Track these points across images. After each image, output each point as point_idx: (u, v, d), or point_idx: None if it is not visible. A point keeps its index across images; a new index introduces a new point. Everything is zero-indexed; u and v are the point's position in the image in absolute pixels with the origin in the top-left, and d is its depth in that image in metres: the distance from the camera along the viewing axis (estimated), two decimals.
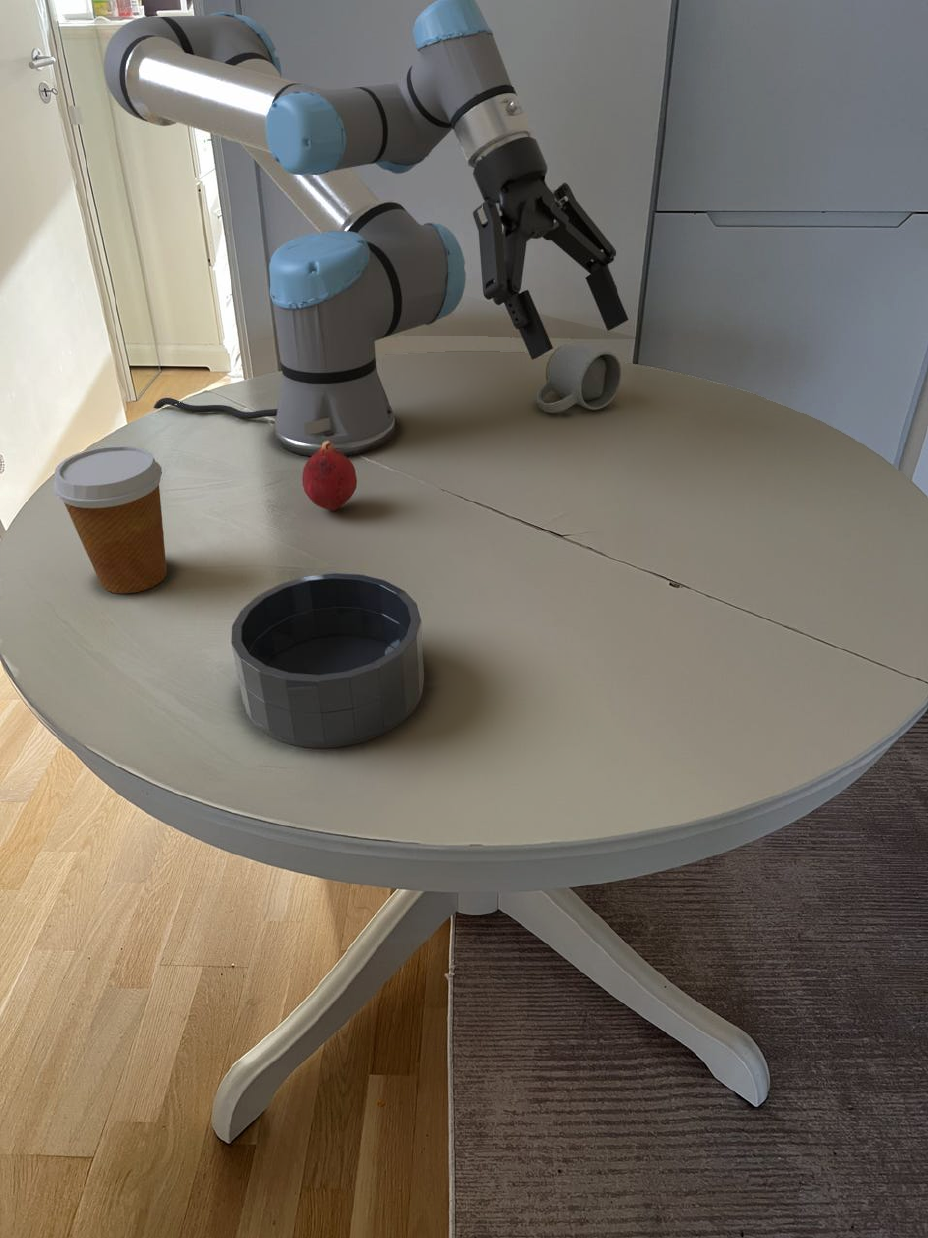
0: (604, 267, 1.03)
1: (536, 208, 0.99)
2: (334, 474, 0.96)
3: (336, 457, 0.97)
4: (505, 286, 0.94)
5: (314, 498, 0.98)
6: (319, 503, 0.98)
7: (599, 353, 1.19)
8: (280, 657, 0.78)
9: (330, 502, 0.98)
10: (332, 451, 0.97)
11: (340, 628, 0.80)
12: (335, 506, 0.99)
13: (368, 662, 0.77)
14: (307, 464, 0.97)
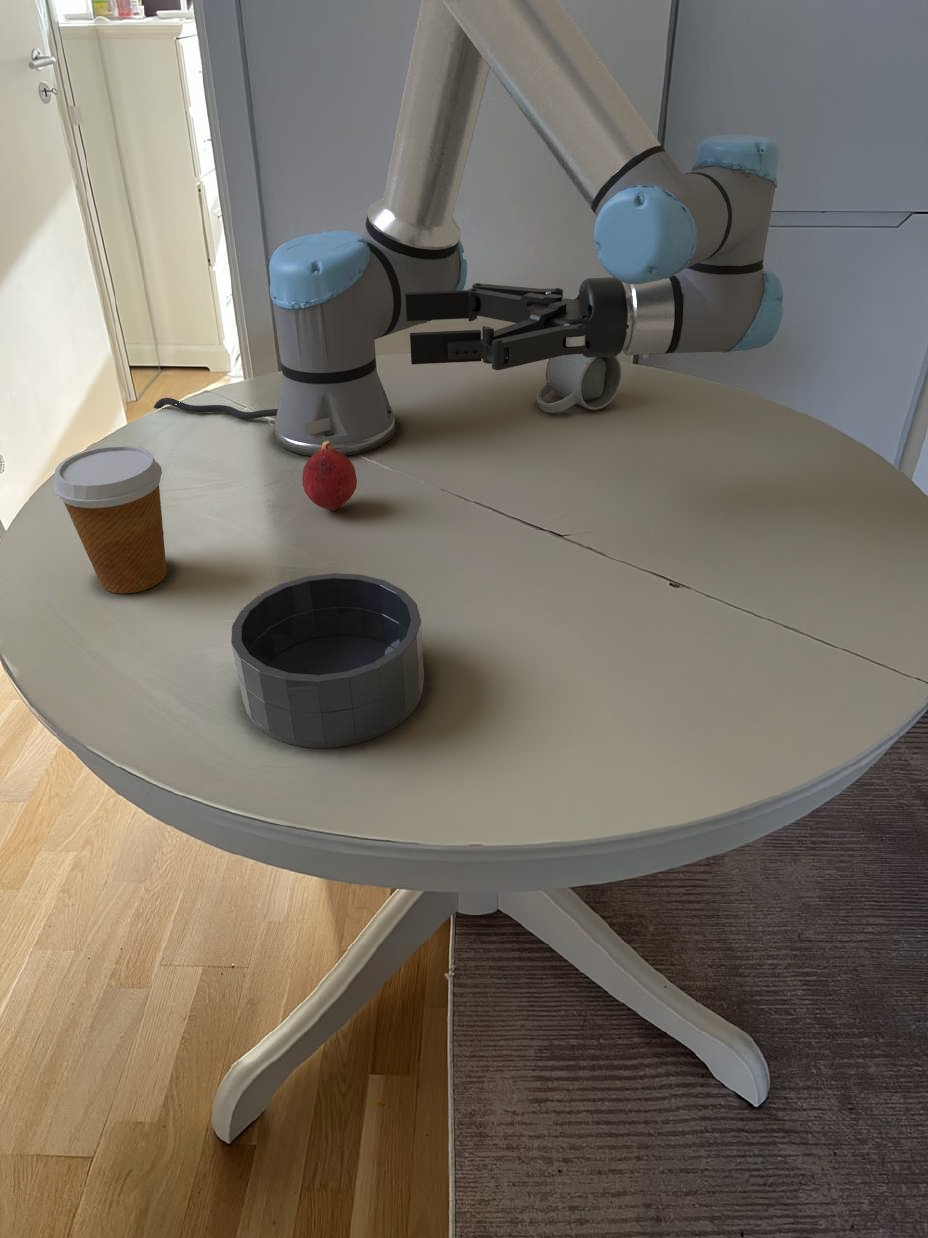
0: None
1: None
2: (334, 474, 0.96)
3: (336, 457, 0.97)
4: None
5: (314, 498, 0.98)
6: (319, 503, 0.98)
7: None
8: (280, 657, 0.78)
9: (330, 502, 0.98)
10: (332, 451, 0.97)
11: (340, 628, 0.80)
12: (335, 506, 0.99)
13: (368, 662, 0.77)
14: (307, 464, 0.97)
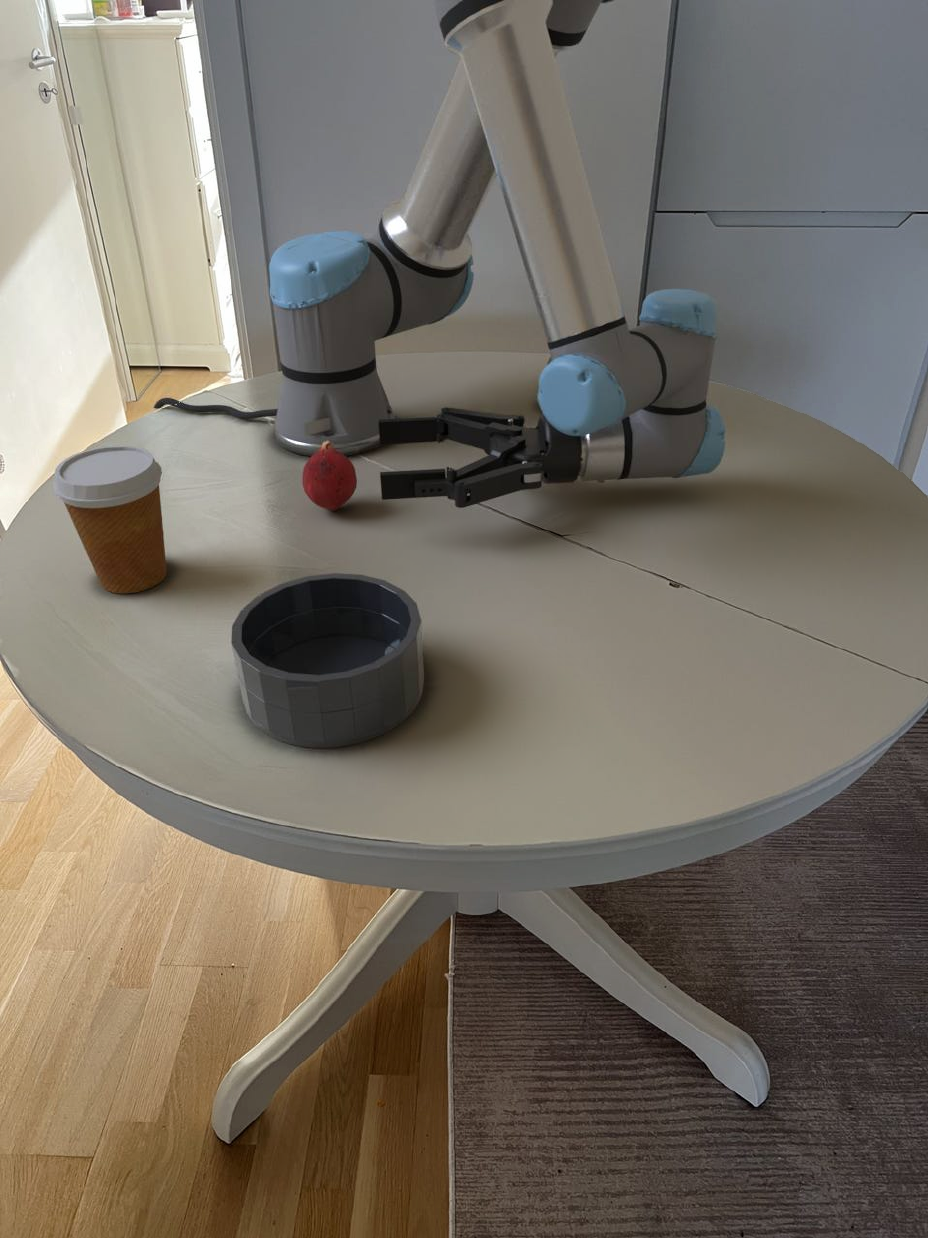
0: None
1: None
2: (334, 474, 0.96)
3: (336, 457, 0.97)
4: None
5: (314, 498, 0.98)
6: (319, 503, 0.98)
7: None
8: (280, 657, 0.78)
9: (330, 502, 0.98)
10: (332, 451, 0.97)
11: (340, 628, 0.80)
12: (335, 506, 0.99)
13: (368, 662, 0.77)
14: (307, 464, 0.97)
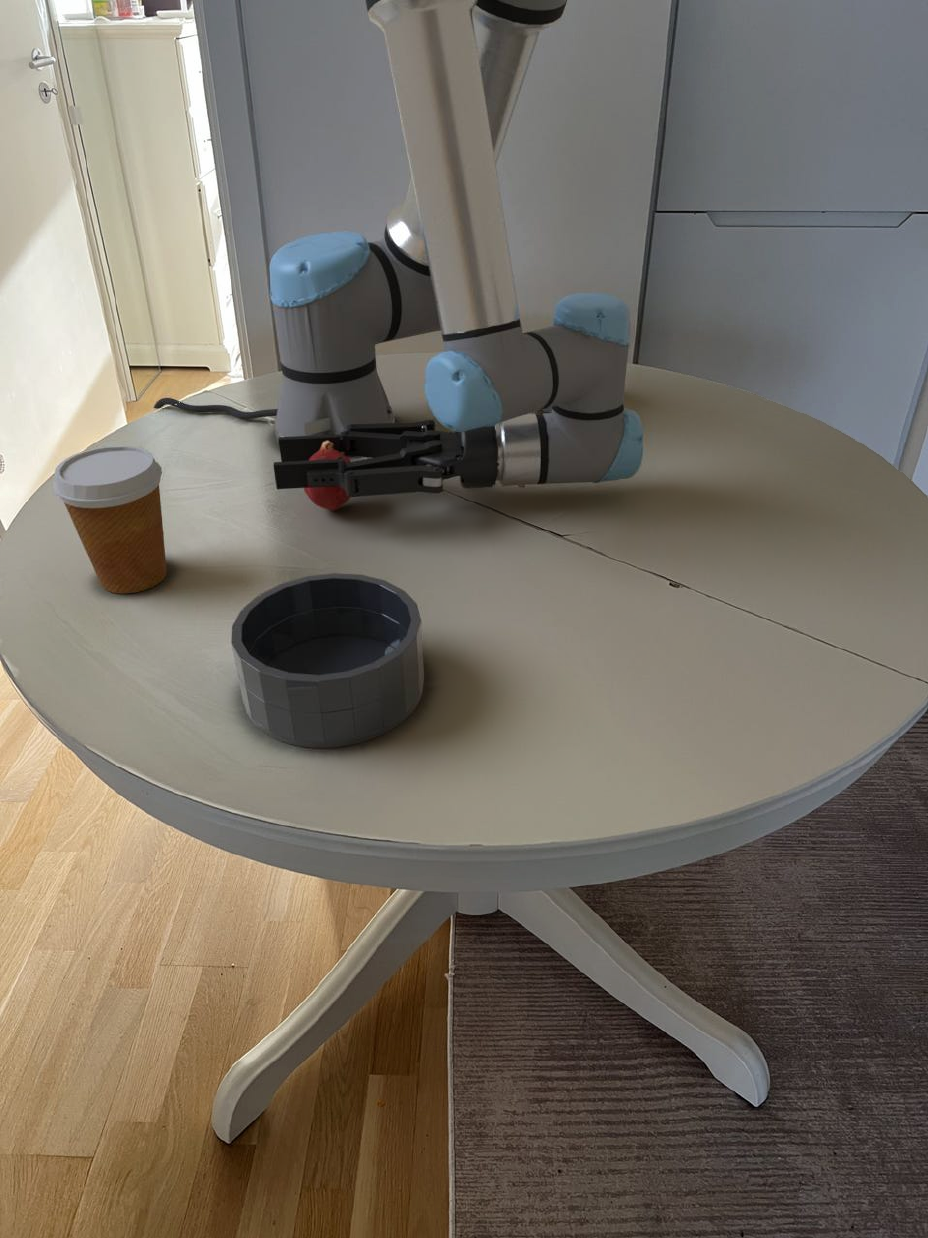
0: None
1: None
2: None
3: (336, 457, 0.97)
4: None
5: (314, 498, 0.98)
6: (319, 503, 0.98)
7: None
8: (280, 657, 0.78)
9: (330, 502, 0.98)
10: (332, 451, 0.97)
11: (340, 628, 0.80)
12: (335, 506, 0.99)
13: (368, 662, 0.77)
14: None
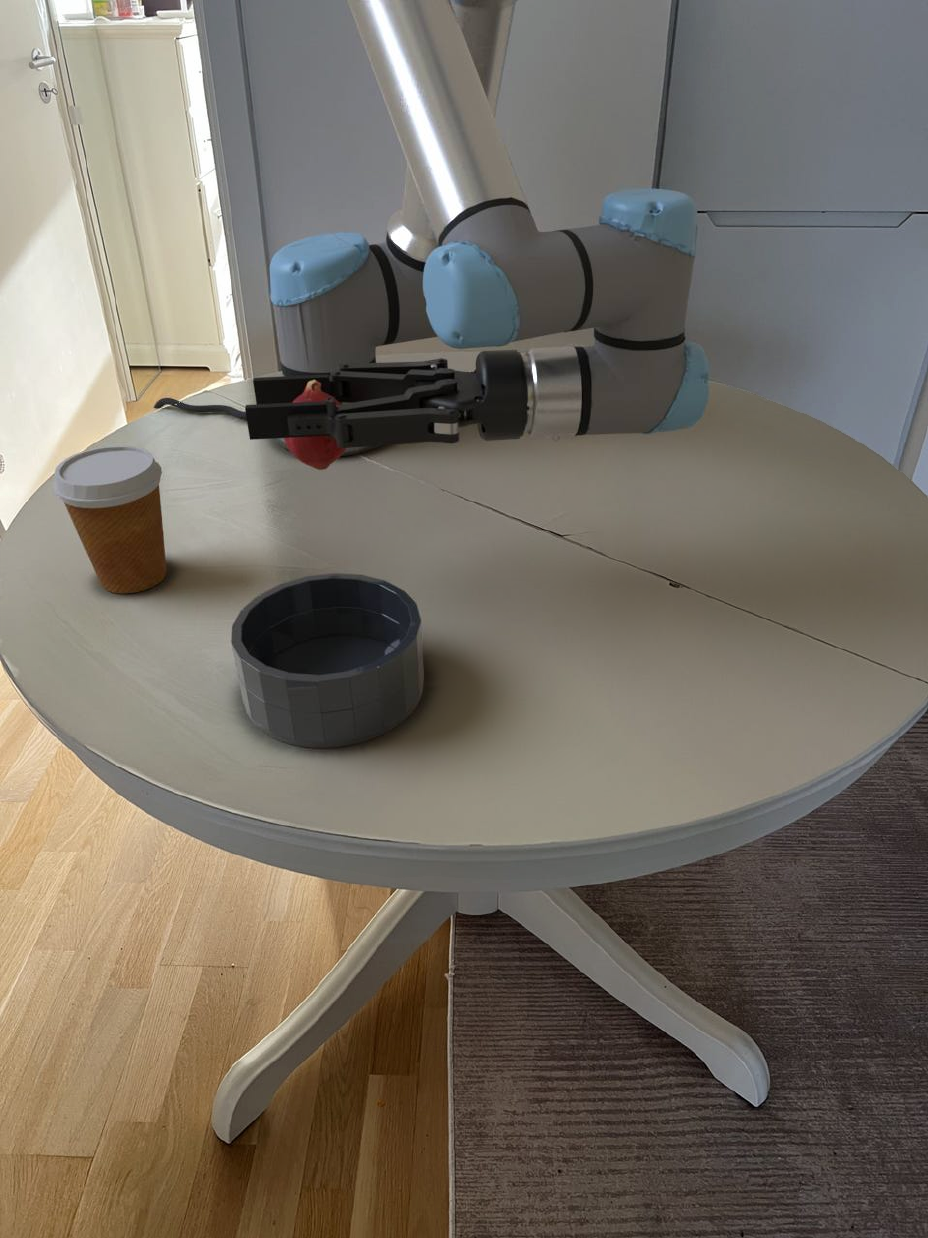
0: None
1: None
2: None
3: (325, 400, 0.77)
4: None
5: (297, 453, 0.78)
6: (304, 459, 0.78)
7: None
8: (280, 657, 0.78)
9: (317, 458, 0.78)
10: (320, 393, 0.77)
11: (340, 628, 0.80)
12: (324, 463, 0.79)
13: (368, 662, 0.77)
14: None
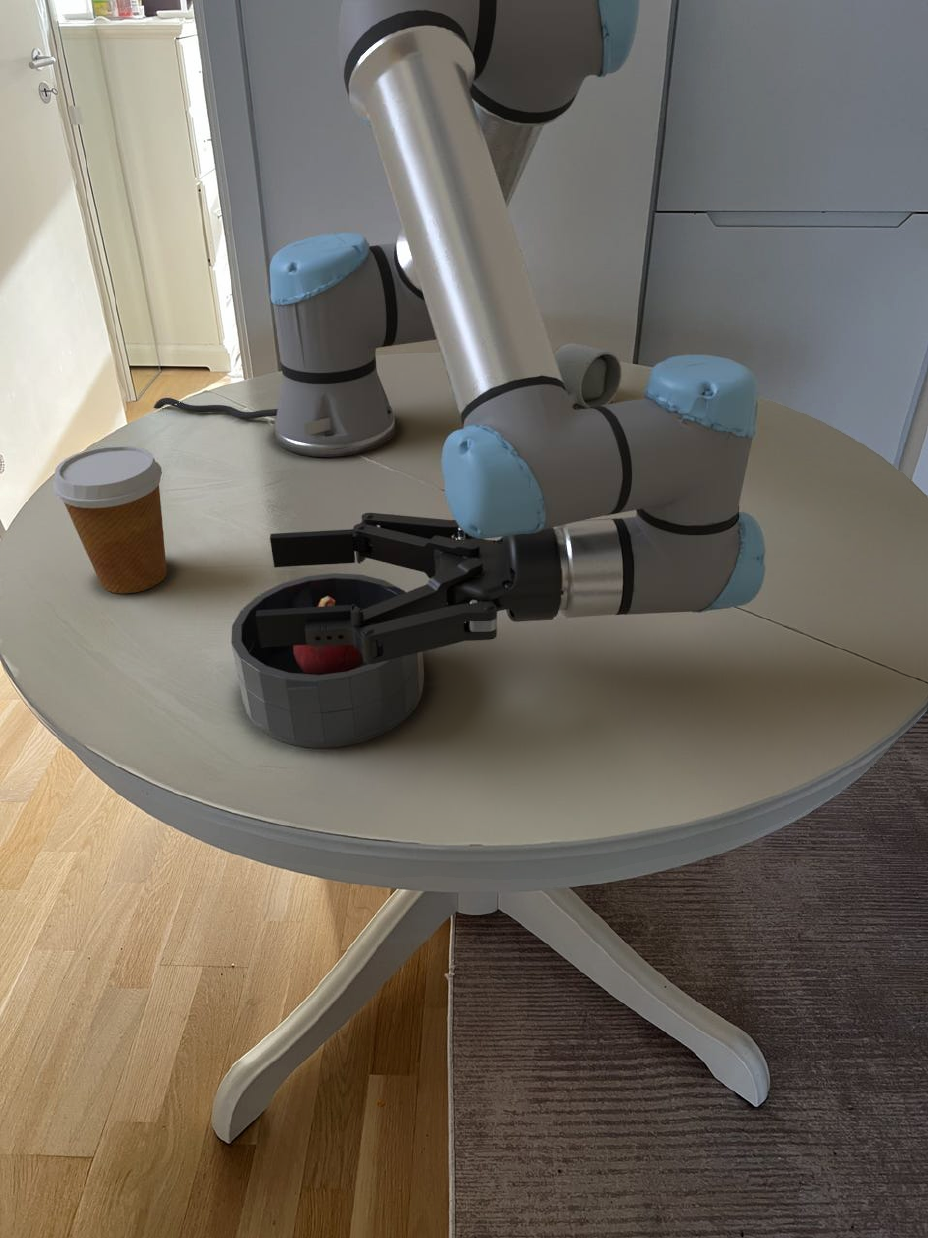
0: None
1: None
2: None
3: None
4: None
5: (309, 673, 0.72)
6: None
7: (599, 353, 1.19)
8: (280, 657, 0.78)
9: None
10: None
11: None
12: None
13: None
14: None
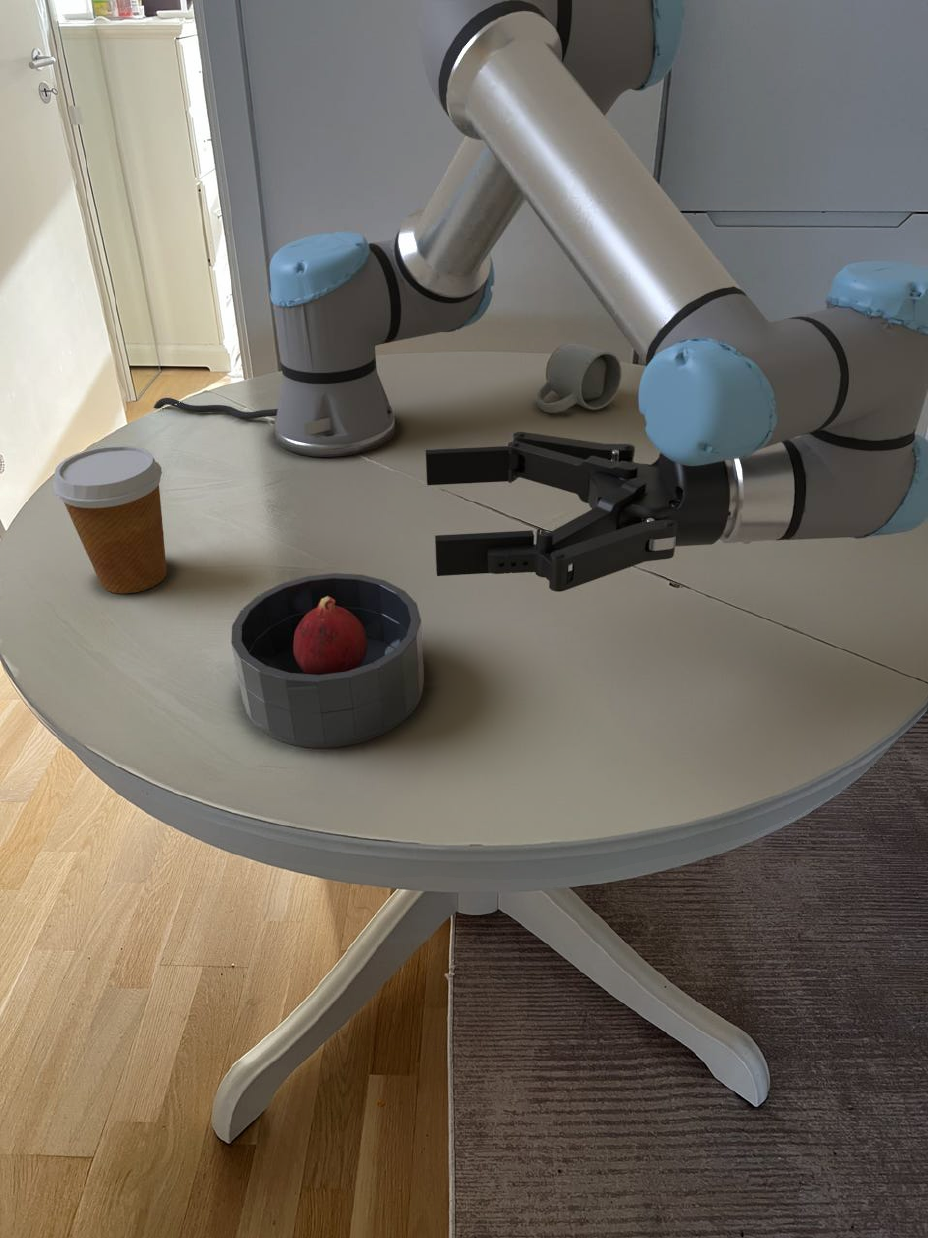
0: None
1: None
2: (336, 644, 0.70)
3: (340, 619, 0.71)
4: None
5: (309, 673, 0.72)
6: None
7: (599, 353, 1.19)
8: (280, 657, 0.78)
9: None
10: (334, 611, 0.71)
11: None
12: None
13: (368, 662, 0.77)
14: (300, 627, 0.71)
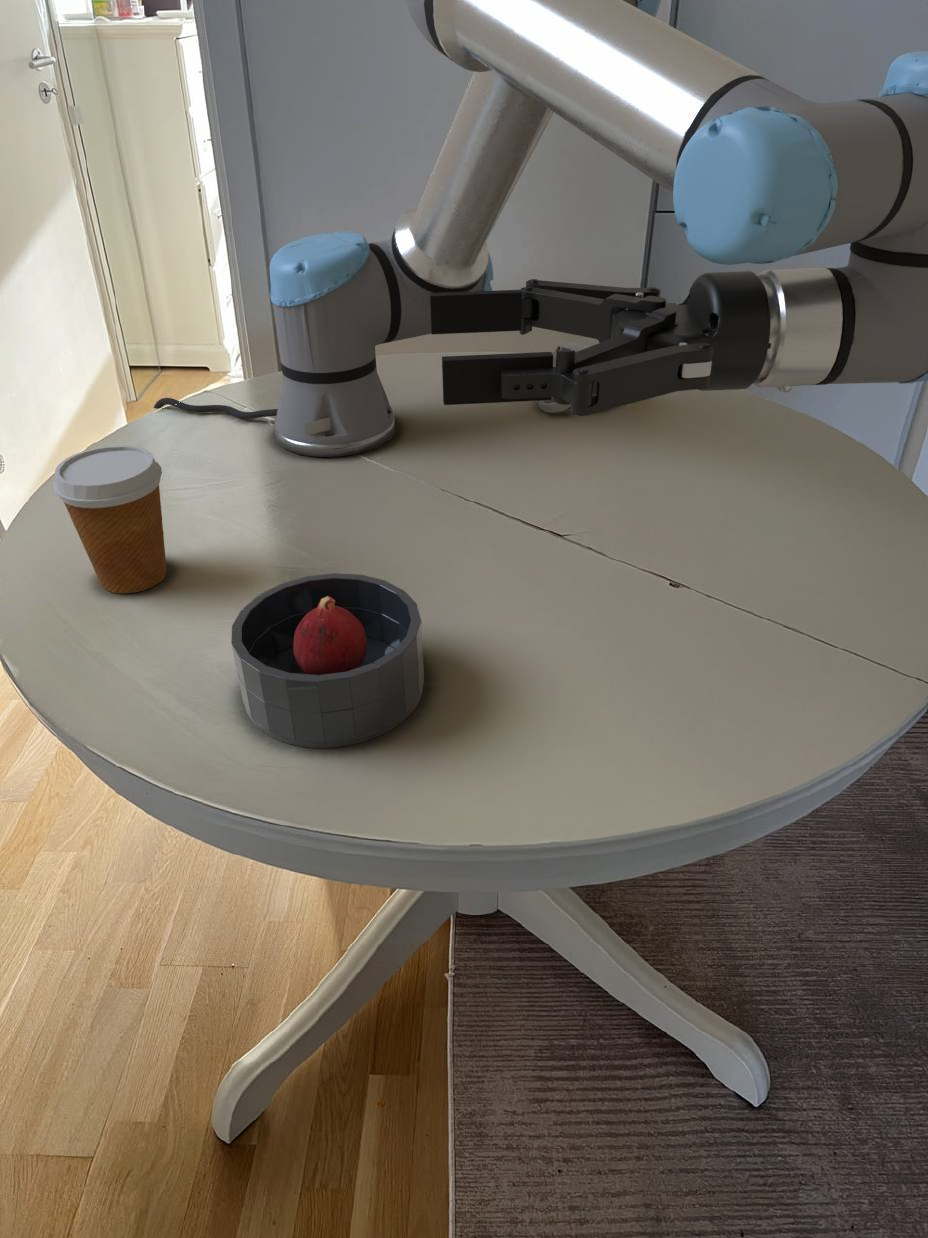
0: None
1: None
2: (336, 644, 0.70)
3: (340, 619, 0.71)
4: None
5: (309, 673, 0.72)
6: None
7: None
8: (280, 657, 0.78)
9: None
10: (334, 611, 0.71)
11: None
12: None
13: (368, 662, 0.77)
14: (300, 627, 0.71)
